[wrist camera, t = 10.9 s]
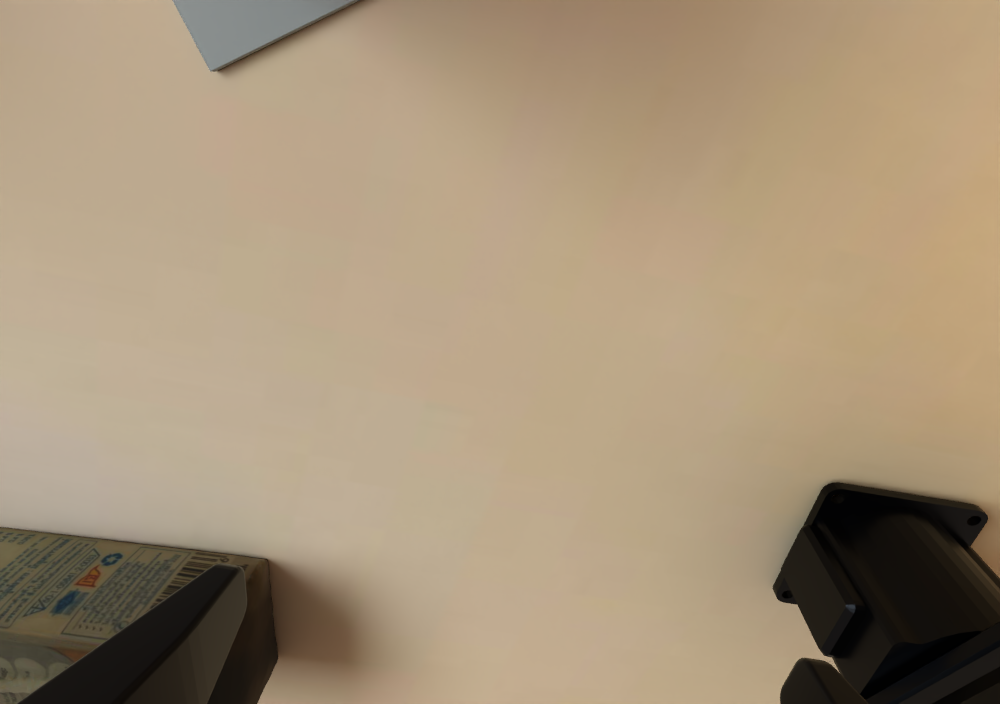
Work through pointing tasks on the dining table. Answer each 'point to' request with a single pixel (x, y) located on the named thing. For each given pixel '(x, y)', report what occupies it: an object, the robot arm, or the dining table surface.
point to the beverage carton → (112, 607)
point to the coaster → (248, 24)
